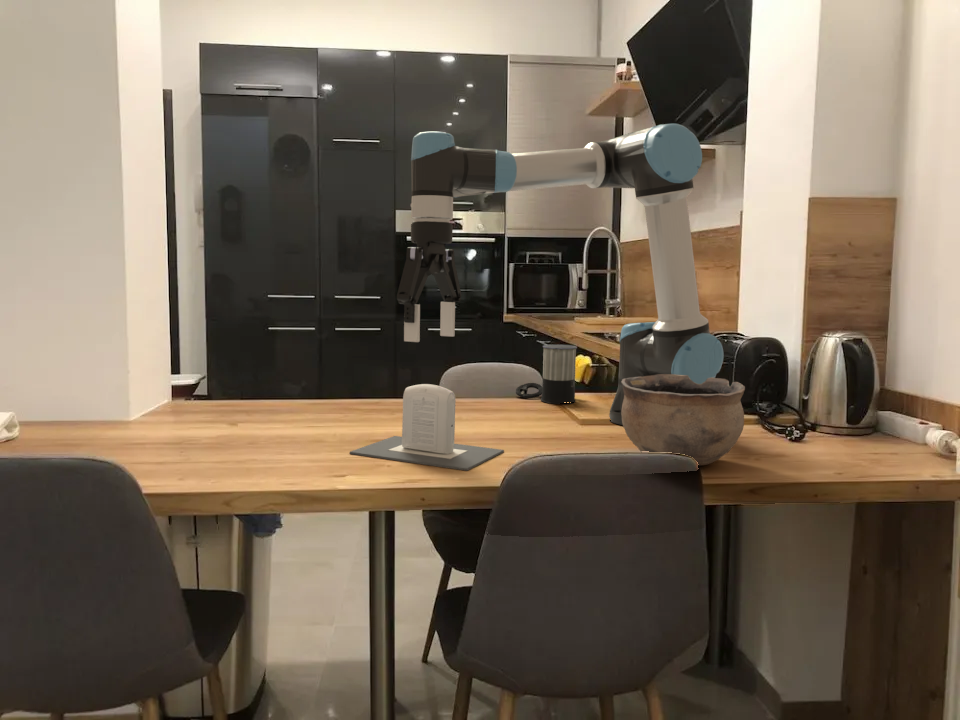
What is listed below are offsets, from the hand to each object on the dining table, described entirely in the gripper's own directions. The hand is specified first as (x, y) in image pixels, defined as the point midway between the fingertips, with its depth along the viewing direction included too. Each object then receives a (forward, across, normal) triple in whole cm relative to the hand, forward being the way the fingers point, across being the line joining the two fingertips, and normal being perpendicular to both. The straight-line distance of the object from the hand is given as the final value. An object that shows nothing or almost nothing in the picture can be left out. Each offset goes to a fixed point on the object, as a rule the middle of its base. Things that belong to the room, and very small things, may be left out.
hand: (430, 338), depth 143 cm
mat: (+21, 0, 0) cm, 21 cm away
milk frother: (+22, -69, -2) cm, 73 cm away
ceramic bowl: (+22, -17, +43) cm, 51 cm away
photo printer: (+21, 0, 0) cm, 21 cm away
